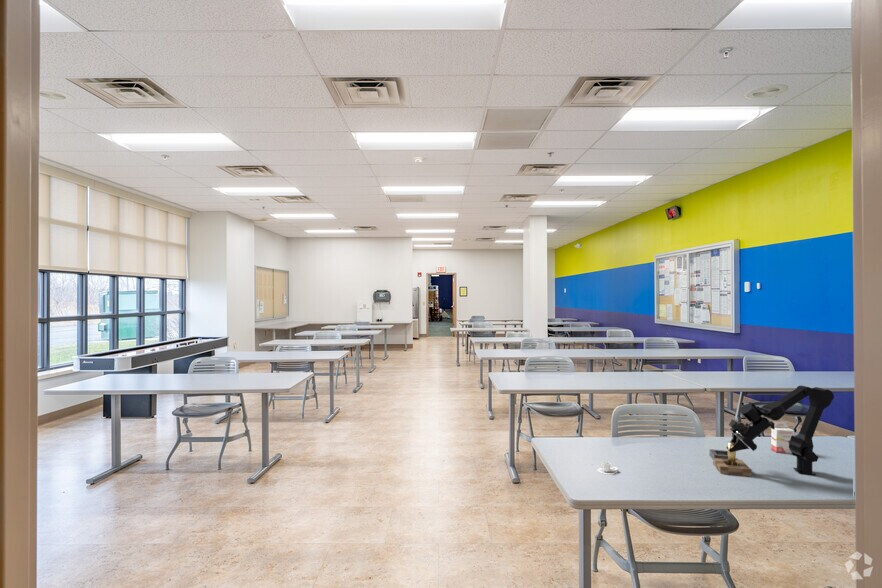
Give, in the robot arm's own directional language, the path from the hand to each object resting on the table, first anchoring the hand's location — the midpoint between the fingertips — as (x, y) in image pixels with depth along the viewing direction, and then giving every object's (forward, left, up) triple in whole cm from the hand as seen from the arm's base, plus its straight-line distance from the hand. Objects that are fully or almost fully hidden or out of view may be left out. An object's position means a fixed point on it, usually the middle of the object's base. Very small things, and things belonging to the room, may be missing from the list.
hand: (728, 450), depth 217 cm
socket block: (+15, -1, -9) cm, 18 cm away
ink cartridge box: (+37, -34, -9) cm, 51 cm away
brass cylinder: (0, -1, -8) cm, 8 cm away
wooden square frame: (0, -1, -9) cm, 9 cm away
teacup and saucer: (-20, +51, -10) cm, 56 cm away
